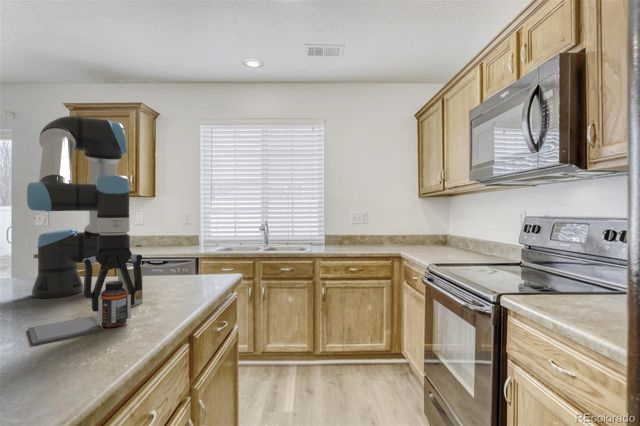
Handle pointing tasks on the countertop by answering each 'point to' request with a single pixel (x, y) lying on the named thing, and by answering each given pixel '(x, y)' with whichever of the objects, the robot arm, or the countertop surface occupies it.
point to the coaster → (63, 330)
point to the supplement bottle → (114, 304)
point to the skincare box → (131, 273)
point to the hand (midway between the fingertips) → (113, 320)
